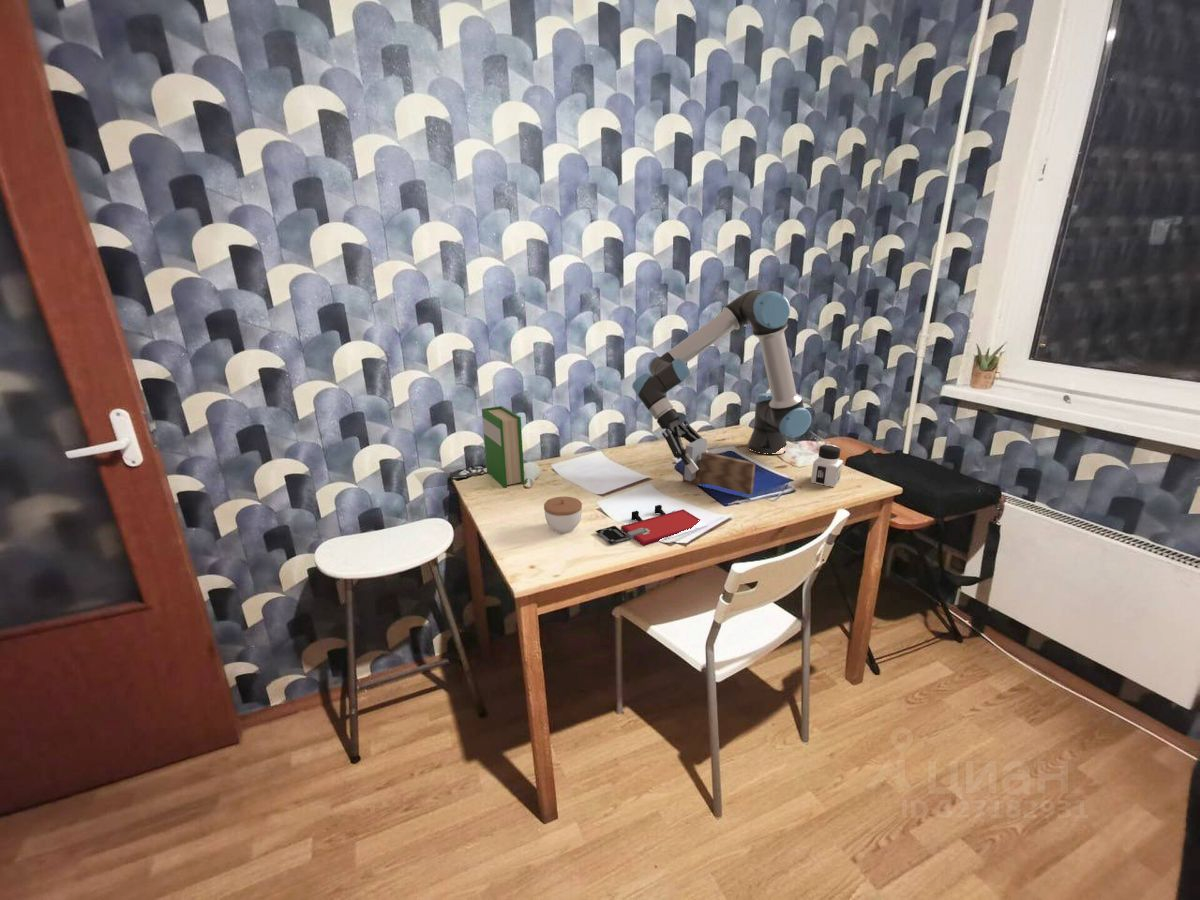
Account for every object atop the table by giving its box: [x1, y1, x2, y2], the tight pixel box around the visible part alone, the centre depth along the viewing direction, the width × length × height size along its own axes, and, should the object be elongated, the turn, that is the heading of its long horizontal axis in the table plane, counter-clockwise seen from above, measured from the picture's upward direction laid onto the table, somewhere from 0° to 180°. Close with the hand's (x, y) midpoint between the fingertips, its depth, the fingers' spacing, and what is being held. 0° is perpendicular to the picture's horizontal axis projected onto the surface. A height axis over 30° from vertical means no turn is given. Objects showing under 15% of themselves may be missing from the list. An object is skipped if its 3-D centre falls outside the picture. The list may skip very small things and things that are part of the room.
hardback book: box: [481, 405, 526, 489], centre depth 186 cm, size 18×7×24 cm, turn 31°
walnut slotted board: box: [682, 448, 756, 495], centre depth 176 cm, size 24×2×12 cm, turn 52°
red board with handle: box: [595, 504, 701, 547], centre depth 152 cm, size 30×3×15 cm
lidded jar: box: [543, 496, 583, 534], centre depth 152 cm, size 11×11×9 cm
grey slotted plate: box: [684, 437, 708, 481], centre depth 180 cm, size 2×10×12 cm, turn 142°
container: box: [810, 444, 844, 488], centre depth 182 cm, size 8×8×13 cm
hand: (703, 466), depth 179 cm, fingers closed on grey slotted plate, 10 cm apart
